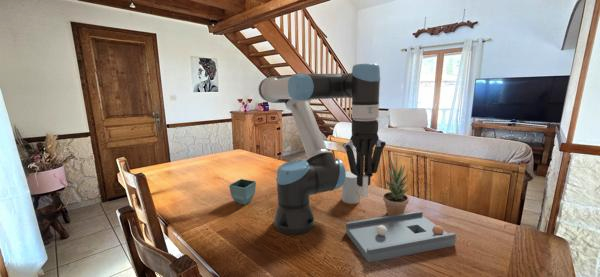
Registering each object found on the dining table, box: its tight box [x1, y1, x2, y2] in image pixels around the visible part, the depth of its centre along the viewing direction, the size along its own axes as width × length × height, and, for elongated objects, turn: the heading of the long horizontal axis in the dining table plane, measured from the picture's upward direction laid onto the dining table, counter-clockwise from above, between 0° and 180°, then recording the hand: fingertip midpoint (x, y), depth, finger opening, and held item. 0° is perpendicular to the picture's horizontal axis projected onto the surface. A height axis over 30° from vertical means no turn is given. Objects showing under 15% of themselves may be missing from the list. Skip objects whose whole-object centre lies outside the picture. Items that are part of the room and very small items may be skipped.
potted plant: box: [382, 154, 410, 216], centre depth 99 cm, size 10×10×25 cm
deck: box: [345, 210, 457, 263], centre depth 84 cm, size 30×16×4 cm, turn 103°
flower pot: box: [228, 178, 257, 205], centre depth 115 cm, size 9×9×9 cm
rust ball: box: [432, 224, 445, 236], centre depth 82 cm, size 3×3×3 cm
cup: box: [341, 170, 361, 205], centre depth 114 cm, size 8×8×12 cm
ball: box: [377, 225, 387, 236], centre depth 83 cm, size 3×3×3 cm
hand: (363, 195), depth 78 cm, fingers closed
